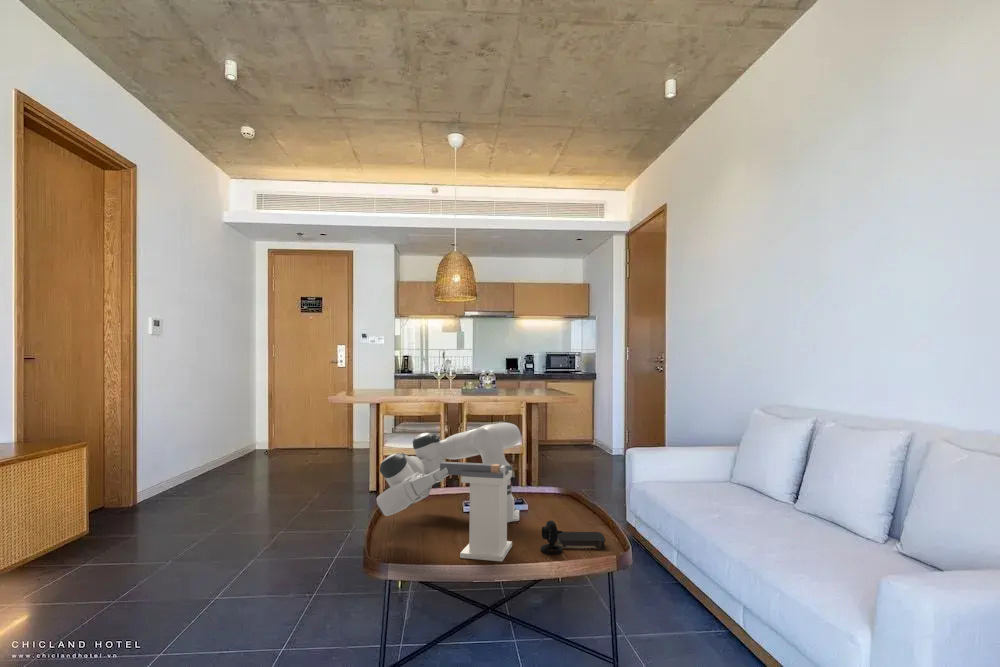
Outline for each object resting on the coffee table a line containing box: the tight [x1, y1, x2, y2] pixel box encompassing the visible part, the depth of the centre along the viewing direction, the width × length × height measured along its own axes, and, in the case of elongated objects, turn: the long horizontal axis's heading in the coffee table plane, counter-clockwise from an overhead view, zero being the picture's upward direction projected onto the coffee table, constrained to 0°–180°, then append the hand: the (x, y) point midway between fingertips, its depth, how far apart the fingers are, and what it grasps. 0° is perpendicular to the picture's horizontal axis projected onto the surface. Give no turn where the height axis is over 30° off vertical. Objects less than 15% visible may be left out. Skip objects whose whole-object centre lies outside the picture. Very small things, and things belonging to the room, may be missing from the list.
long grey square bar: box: [440, 461, 500, 476], centre depth 175 cm, size 4×20×4 cm, turn 77°
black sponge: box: [556, 531, 607, 550], centre depth 184 cm, size 16×8×4 cm, turn 87°
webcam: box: [540, 520, 564, 555], centre depth 178 cm, size 8×8×10 cm
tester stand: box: [459, 465, 513, 562], centre depth 177 cm, size 16×14×29 cm
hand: (452, 467), depth 177 cm, fingers open, 8 cm apart
